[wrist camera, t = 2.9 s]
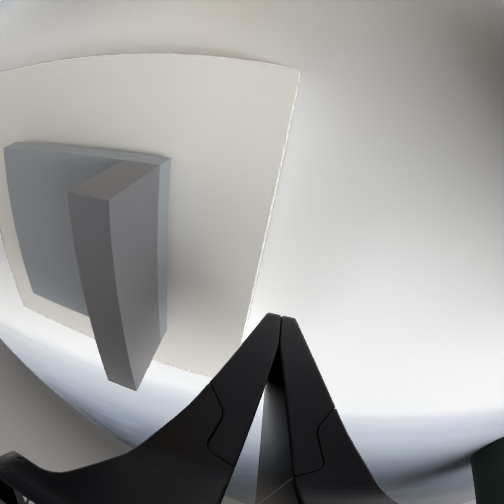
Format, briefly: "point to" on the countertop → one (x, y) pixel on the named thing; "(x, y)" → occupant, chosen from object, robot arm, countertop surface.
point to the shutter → (97, 242)
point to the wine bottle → (489, 473)
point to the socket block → (181, 174)
